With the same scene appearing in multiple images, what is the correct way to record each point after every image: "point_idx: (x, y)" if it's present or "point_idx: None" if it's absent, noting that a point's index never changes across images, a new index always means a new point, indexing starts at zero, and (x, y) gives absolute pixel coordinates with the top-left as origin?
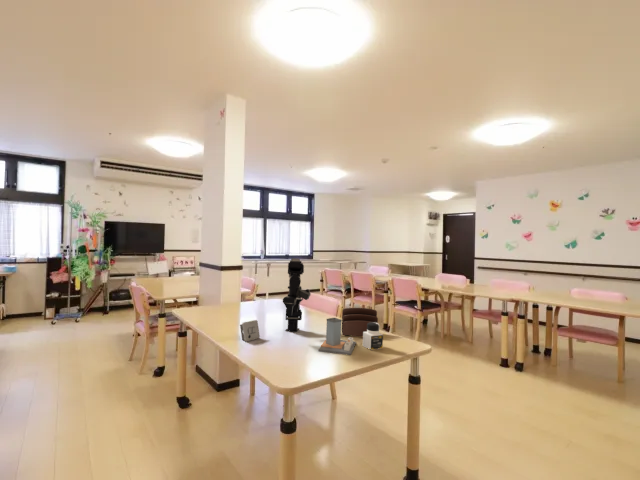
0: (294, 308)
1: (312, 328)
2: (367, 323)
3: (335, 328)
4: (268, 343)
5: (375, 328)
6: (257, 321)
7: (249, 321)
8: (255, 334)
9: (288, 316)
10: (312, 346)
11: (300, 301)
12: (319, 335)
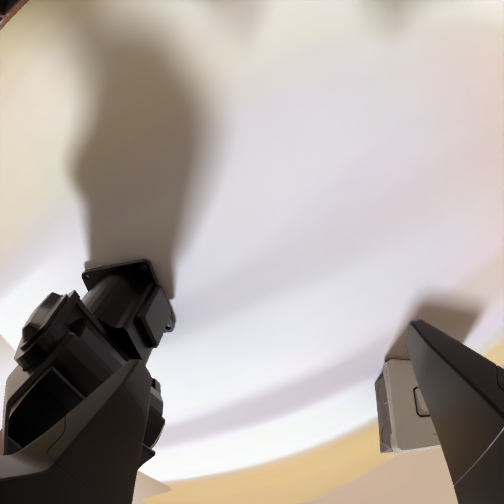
0: (142, 428)
1: (18, 214)
2: None
3: None
4: (452, 278)
5: None
6: (398, 441)
7: (440, 444)
8: (412, 379)
9: (155, 390)
10: (394, 7)
11: (23, 479)
12: (109, 74)
